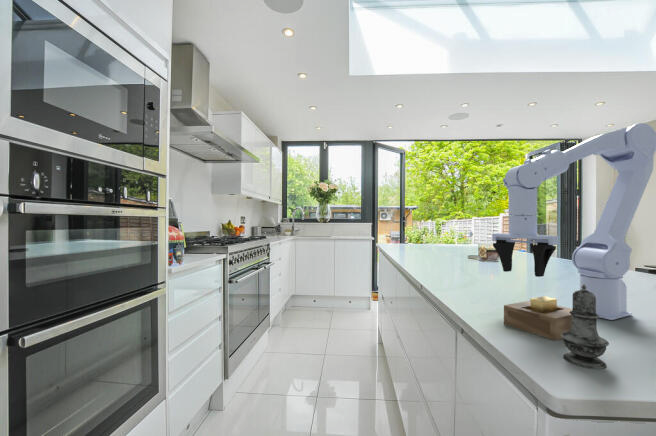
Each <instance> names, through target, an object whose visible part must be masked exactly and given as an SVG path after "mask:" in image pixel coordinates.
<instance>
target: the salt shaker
mask: <svg viewBox="0 0 656 436" xmlns="http://www.w3.org/2000/svg"><path fill="white" fill-rule="evenodd" d="M586 288H587V287H586V286H585V285H583V286H582V289H581V290H580V289H579V290H576V291H574V292H573V293H572V309H573V310H572V311H570V314H572V327H571V330H570V331H569V332H563V333H562V334H561V336H562V337H563V338H562V339H563V343H564V346H565V347H566V349H568V350H569V351H570V352H567V353H564V354H563V359H564V360H565V361H566V362H568V363H570V364H573V365H575V366H579V367H582V368H585V369H594V370H603V369H605V368H607V363H605V362H604V360H602V359H600V357H601V356H603V355H604V354H605V352H606V351H607V347H608V346H609V345H610V342H609V341H608V340H607V339H606V338H604V337H600V335H599V333H598V330H597V329H598V328H597V322H598V321H597V319H598V318H600V317H599V315H597V314H596V297H595V295H594V294H593V293H591V292H589V291H588V290H586Z"/></svg>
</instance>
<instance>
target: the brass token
mask: <svg viewBox="0 0 656 436" xmlns="http://www.w3.org/2000/svg"><path fill="white" fill-rule="evenodd" d="M529 299H530V300H529V301H530V310H532V311H536V312H540V313H549V312H553V311H557V306H558V305H557V304H558V300H557V298H553V297H548V296H545V295H543V296H537V297H531V298H529Z"/></svg>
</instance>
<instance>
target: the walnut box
mask: <svg viewBox="0 0 656 436" xmlns="http://www.w3.org/2000/svg"><path fill="white" fill-rule="evenodd" d="M572 310H573V308H570V307H566V306H561V305H557V311H553V312H549V313H540V312H536V311H532V310H530V300H526V301H519V302H515V303H510V304H509V303H508V304H504V305H503V325H505V326H509V327H511V328H515V329H517V330H521V331H524V332H527V333H531V334H534V335H536V336H540V337H543V338H546V339H549V340H552V341H557V340H561V339H563V337H562V336H561V334H562V333H563V332H569V331H570V330H571V327H572V314H570V311H572Z"/></svg>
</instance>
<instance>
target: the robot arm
mask: <svg viewBox="0 0 656 436" xmlns="http://www.w3.org/2000/svg"><path fill="white" fill-rule="evenodd" d="M655 152H656V130H655V129H654V127H653V126H652V125H650V124H648V123H645V122H641V123H640V122H638V123H635V124H633V125H632V126H627V127H622V128H620V129H619V128H618V129H616V130H612V131H608V132H606V133H602V134H599V135H595V136H593V137H590V138H588V139H586V140H584V141H582V142H580V143H578V144H576V145H574V146H572V147H570V148H568V149H566V150H564V151H562V150H559V149H553V150H551V149H547V150H544V151H542V152H541V155H540V156H537V157H535V158H533V159H531V158H530V159H525V160H524V161H523V164H521V165H517V166H514V167H511V168H509V169H508V170H507V172H506V173H505V176H504V178H502V182H503V185H504V186H505V188H506V189H507V195H508V233H502V232H501V233H500V232H499V233H498V232H497V233H494V232H493V233H492V234H491V237H492V238H491V240H492V241H491V242H493V243H492V247H493V248H494V249H495V251H496V252H497V253H496V254H497V255H498V257H499V260H500V262H501V263H500V264H501V266H502V271H503V273H504V272H506V273H508V272H512V269H513V254H514V248H515V245H516V243H519V244H520V243H522V244H531V245H530V247H531V250H532V255H533V260H534V261H533V263H534V267H533V269H534V276H535V277H538V278H542V277H544V276H545V273H546V268H547V266H548V262H549V261H550V258H551V257H552V255H553V254H554V253H555V250H556V248H557V246H559V235H548V234H547V235H545V234H538V187H540V185H541V184H542V183H543V182H546V181H547V180H549V179H552V178H553V177H556V176H557V177H558V175H561V174H563V173H566V172H567V171H568V169H569V167H570V164H572V163H575V162H577V161H579V160H582V159H584V158H587V157H589V156H591V155H594V156H599V157H600V158H601V159H603V161H604V162H606V163H607V165H609V166H610V167H611V168H612V169H613V170H616V171H617V174H618V175H617V177H616V179H615V181H614V185H613V186H612V188H611V190H610V193H609V195H608V198H607V200H606V203H605V205H604V208H603V210H602V213H601V214H600V217H599V220H598V222H597V224H596V227H595V229H594V232H593V233H590V235H588V236H586V237H584V238H583V239H582V241H581V243H580V245H579V246H578V247H577V248H575V249H574V251H573V252H572V254H571V262H572V264H573V266H574V267H575V268H576V269H577V273H578V274H579V290H581V289H582V286H583V285H585V286H586V287H587V288H586V290H588V291H589V292H591V293H593V294H594V295H595V297H596V314H597V315H599V317H598V318H601V319H604V320H610V321H614V320H618V319H620V318H625V317H629V316H632V315H633V312H630V311H627V310H628V309H627V307H628V301H627V299H628V295H627V294H628V292H627V291H628V290H627V288H628V287H627V285H626V282H625V281H624V280H623V278H624V276H625V275H626V274H627V272H628V271H629V269H630V267H631V260H630V259H631V253H632V251H633V249H632V248H631V246H630V245H629V244H628V243H627V242H626V241H625V238H626V236H627V233H628V232H629V229H630V226H631V223H632V222H633V218H634V217H635V215H636V211H637V209H638V206H639V205H640V202H641V199H642V197H643V195H644V193H645V190H646V188H647V185H648V183H649V181H650V178H651V176H652V173H653V170H654V157H655V156H654V155H655Z"/></svg>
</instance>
